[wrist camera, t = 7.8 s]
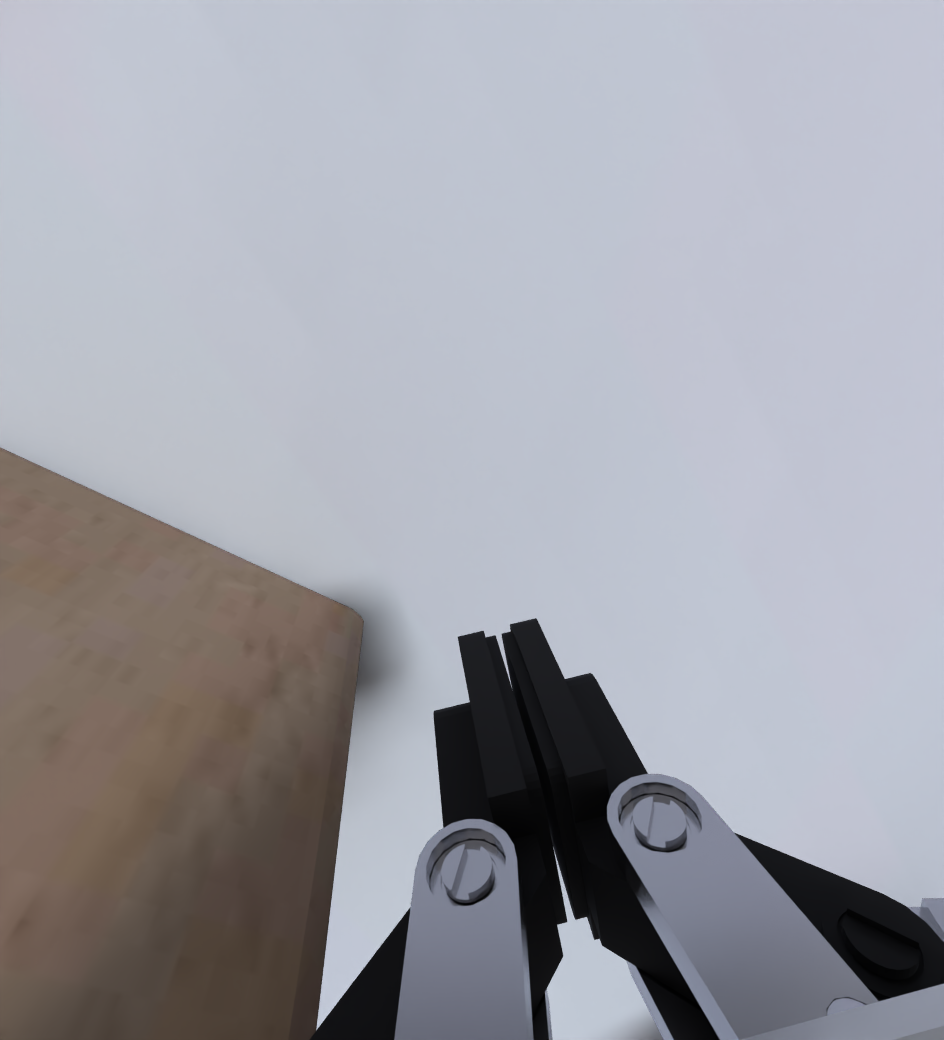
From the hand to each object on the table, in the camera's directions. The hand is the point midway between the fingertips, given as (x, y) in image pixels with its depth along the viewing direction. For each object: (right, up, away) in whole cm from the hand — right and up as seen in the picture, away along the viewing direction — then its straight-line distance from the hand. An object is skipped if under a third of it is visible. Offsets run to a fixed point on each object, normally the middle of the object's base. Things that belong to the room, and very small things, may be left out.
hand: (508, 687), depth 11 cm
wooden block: (-10, -1, +4) cm, 11 cm away
